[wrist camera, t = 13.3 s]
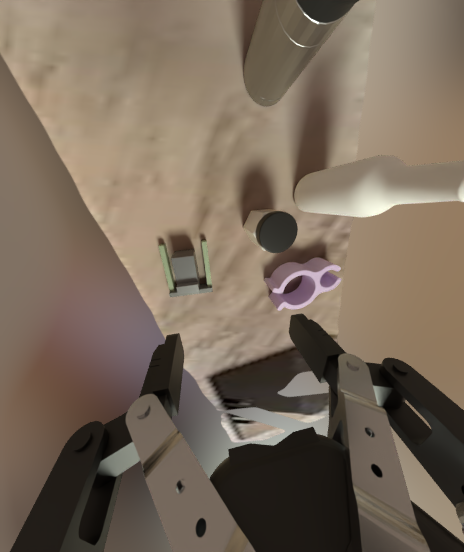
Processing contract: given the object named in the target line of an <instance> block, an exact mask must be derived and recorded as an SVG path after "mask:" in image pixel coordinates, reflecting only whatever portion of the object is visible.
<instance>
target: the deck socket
mask: <svg viewBox="0 0 464 552" xmlns="http://www.w3.org/2000/svg"><path fill="white" fill-rule="evenodd" d="M202 249H203V256H204V264H205V271H206V278H207V284H200V288H199V293H206V292H213V291H212V283H211V275H210V267H209V258H208V250H207V242H206V240H202ZM159 250H160V254H161V258H162V262H163V266H164V270H165V274H166V278H167V282H168V286H169V290H170V293H169V294H170V297H177V296H178V292H177V288H175V283H174V279H173V275H172V270H171V266H170V262H169V257H168V253H167V249H166V244H160V245H159ZM199 293H197V294H199ZM190 295H191V294H190ZM183 296H184V295H183Z"/></svg>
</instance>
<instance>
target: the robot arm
mask: <svg viewBox="0 0 464 552" xmlns="http://www.w3.org/2000/svg"><path fill="white" fill-rule="evenodd" d="M357 1H359V0H263V1H262V5H261V8H260V11H259V14H258V18H257V21H256V24H255V27H254V31H253V34H252V37H251V42H250V46H249V49H248V52H247V56H246V59H245V63H244V81H245V85H246V88H247V91H248V93H249V95H250V96H251V98H252V99H253V100H254V101H255V102H256V103H257V104H260V105H262V106H271V105H274V104H276V103H277V102H278V101H279V100H280V99H281V98H282V97H283V95H284V94H285V93H286V92H287V90H288V89H289V88H290V87H291V85H292V84H293V83H294V81H295V80H296V79H297V78H298V76H299V75H300V74H301V72H302V71H303V70H304V69H305V67H306V66H307V65H308V63H309V62H310V61H311V60H312V58H313V57H314V56H315V54H316V53H317V52H318V51H319V49H320V48H321V47H322V45H323V44H324V43H325V42H326V40H327V39H328V38H329V36H330V35H331V34H332V32H333V31H334V30H335V29H336V27H337V26H338V25H339V23H340V22H341V21H342V20H343V18H344V17H345V16H346V14H347V13H348V12H349V10H350V9H351V8H352V7H353V5H354V4H355V3H356V2H357ZM289 334H290V338H291V340H292V341H293V343H294V344H295V346H296V347H297V349H298V350H299V352H300V353H301V355H302V356H303V358H304V359H305V361H306V363H307V364H308V366H309V367H310V369H311V370H312V372H313V373H314V375H315V376H316V377H317V379H318V381H319V382H320V383H323V382H327V383H328V384H329V427H328V437H326V436H323V435H319V434H316V432H315V430H314V428H313V427H311V428H307V429H303V430H299V431H296V432H293V433H292V434H290V435H289V436H287V437H286V438H285V439H283V440H282V441H281V442H279V443H278V444H277V445H274V446H271V445H260V444H247V445H243V446H240V447H235V448H232V449H229V457H228V458H227V459H225V460H224V461H223V462H222V463H221V464H220V465H219V466H218V467H217V468H216V469H215V471H214V472H213V474H212V475H211V477H210V479H209V478H208V476H207V475H206V473H205V472H204V470H203V468H202V467H201V465H200V463H199V462H198V460H197V458H196V457H195V455H194V454H193V452H192V451H191V449H190V447H189V446H188V444H187V443H186V441H185V439H184V437H183V436H182V434H181V433H180V432H179V431H178V430H177V429H176V427H175V425H174V424H173V422H172V416H176V415H178V410H179V400H180V391H181V381H182V372H183V363H184V350H183V346H182V342H181V338H180V334H179V333H178V334H172V335H167V337H166V340H165V344H162V345H159V346H158V347H157V349H156V350H155V351H154V353H153V355H152V359H151V362H150V365H149V369H148V372H147V375H146V378H145V381H144V384H143V387H142V390H141V394H140V396H139V398H138V399H137V400H136V401H135V402H134V403H133V404H132V405H131V407H130V408H129V410H128V411H127V412H126V413H124V414H123V415H122V416H119V417H118V418H116V419H114V420H112V421H110V422H108V423H106V424H105V425H103V424H102V423H101V422H99V421H94V422H90V423H88V424H86V425H84V426H83V427H81V428H80V429H79V430H78V431H76V432H75V433H74V434H73V435H72V436H71V438H70V439H69V440H68V441H67V443H66V444H65V446H64V448H63V450H62V452H61V453H60V456H59V457H58V459H57V461H56V463H55V465H54V467H53V469H52V471H51V473H50V475H49V477H48V479H47V481H46V483H45V485H44V487H43V488H42V490H41V493H40V494H39V497H38V498H37V500H36V502H35V504H34V506H33V508H32V510H31V512H30V514H29V516H28V518H27V520H26V522H25V524H24V525H23V527H22V529H21V531H20V533H19V535H18V537H17V539H16V541H15V543H14V545H13V547H12V549H11V551H10V552H103V551H104V547H105V543H106V539H107V534H108V531H109V527H110V523H111V518H112V514H113V511H114V506H115V502H116V498H117V494H118V490H119V486H120V482H121V478H122V474H123V472H124V471H125V470H127V469H128V468H130V467H131V466H133V465H134V464H136V463H137V462H139V461H141V463H142V466H143V473H144V477H145V479H146V482H147V485H148V488H149V490H150V493H151V496H152V498H153V501H154V504H155V506H156V509H157V511H158V514H159V517H160V519H161V522H162V525H163V527H164V530H165V533H166V535H167V538H168V541H169V543H170V546H171V548H172V551H173V552H464V543H463V542H462V541H461V540H459V539H458V538H457V537H455V536H454V535H453V534H452V533H451V532H449V531H448V530H447V529H446V528H444V527H443V526H442V525H441V524H440V523H438V522H437V521H436V520H434V519H433V518H432V517H431V516H430V515H428V514H427V513H426V512H425V511H423V510H422V509H421V508H420V507H418V506H417V505H416V504H415V503H413V502H412V501H411V500H410V497H409V493H408V490H407V486H406V482H405V479H404V475H403V471H402V468H401V464H400V461H399V458H398V453H397V450H396V446H395V442H394V439H393V435H392V432H391V428H390V426H391V427H392V428H393V430H394V431H395V432H396V433H397V434H398V436H399V437H400V438H401V440H402V441H403V442H404V443H405V445H406V446H407V447H408V448H409V450H410V451H411V452H412V453H413V454H414V456H415V457H416V458H417V460H418V461H419V462H420V463H421V465H422V466H423V467H424V469H425V470H426V471H427V472H428V474H429V475H430V476H431V477H432V479H433V480H434V481H435V482H436V484H437V485H438V486H439V487H440V489H441V490H442V491H443V492H444V494H445V495H446V496H447V497H448V499H449V500H450V501H451V502H452V504H453V505H454V506H455V508H456V512H457V515H458V518H459V520H460V522H461V524H462V526H463V527H462V531H463V533H464V410H463V409H461V408H460V407H459V406H458V405H457V404H455V403H454V402H453V401H452V400H451V399H449V398H448V397H447V396H446V395H445V394H443V393H442V392H441V391H440V390H439V389H437V388H436V387H435V386H434V385H432V384H431V383H430V382H429V381H428V380H426V379H425V378H424V377H423V376H422V375H420V374H419V373H418V372H417V371H415V370H414V369H413V368H412V367H411V366H409V365H408V364H406V363H404V362H403V361H400V360H398V359H394V358H385V359H384V360H383V362H382V364H375V363H366V362H364V361H362V359H360V358H359V357H357V356H355V355H352V354H347V353H346V352H345V351H344V350H343V349H342V348H341V347H340V346H339V345H338V344H337V343H336V342H335V341H334V340H333V339H332V338H331V337H330V336H329V335H328V334H327V332H326V331H325V330H323V328H322V327H321V326H320V325H319V324H318V323H316V322H314V321H313V320H311V319H310V320H308V319H307V318H306V316H305V315H304V314H296V315H292V316H291V320H290V328H289ZM405 400H407V401H408V402H409V403H410V404H411V405H412V406H413V407H414V408H415V409H416V410H417V411H418V412H419V413H420V414H421V415H422V416H423V417H424V418H425V420H426V421H427V422H428V423H429V425H430V426H431V429H432V430H431V429H430V428H429V427H428V426H427V425H426V424H425V423H424V422H423V421H422V419H420V417H419V416H418V415H417V414H416V413H415V412H414V411H413V410H412V409H411V408H410V407H409V406H408V405H407V404H406V403H405Z"/></svg>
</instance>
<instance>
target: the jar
mask: <svg viewBox="0 0 464 552" xmlns="http://www.w3.org/2000/svg"><path fill="white" fill-rule="evenodd" d="M243 228H244V230H245V232H246V233H247V235H248V236H249V238H250V240H251V241H252V242H253V243H254V244H256V245H257V246H258V247H260V248H261V249H262V250H266V251H268V252H271V253H280V252H283V251H285V250H287V249H288V248H289V247H290V246H291V245H292V244H293V242H294V241H295V239H296V236H297V230H298V228H297V223H296V221H295V219H294V218H293V216H292V215H290V214H288V213H286V212H285V211H281V210H271V209H264V210H253V211H251V212H250V214H249V216H248V218H247V220H246V222H245V224H244V227H243Z"/></svg>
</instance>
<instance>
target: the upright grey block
mask: <svg viewBox="0 0 464 552" xmlns="http://www.w3.org/2000/svg"><path fill="white" fill-rule="evenodd" d="M171 260H172V264H173V269H174V273H175V277H176V281H177V287H176V288H177V292H178V296H183V295H190V294H197V293H199V288H200V279H199V273H198V267H197V261H196V256H195V250H194V249H192V250H183V251H175V252H174V254H173V256H172V258H171Z"/></svg>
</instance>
